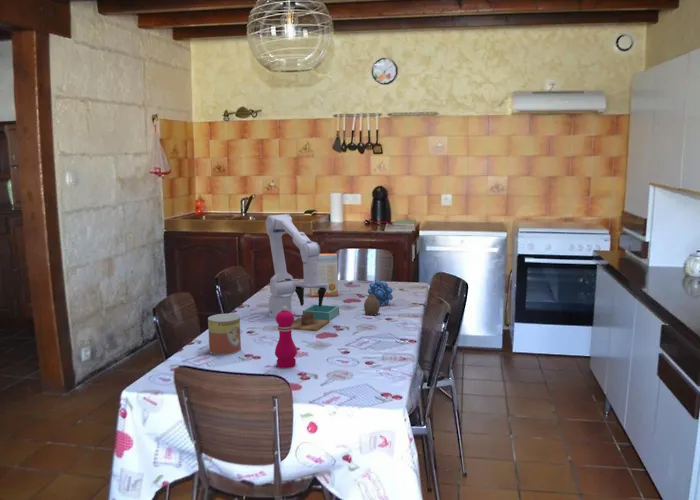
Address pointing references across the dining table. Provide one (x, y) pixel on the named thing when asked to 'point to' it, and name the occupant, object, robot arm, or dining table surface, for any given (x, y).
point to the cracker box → (327, 274)
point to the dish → (323, 311)
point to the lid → (309, 323)
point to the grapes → (381, 292)
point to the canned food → (224, 333)
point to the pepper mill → (285, 340)
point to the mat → (315, 331)
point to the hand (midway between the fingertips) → (311, 305)
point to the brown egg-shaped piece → (371, 305)
